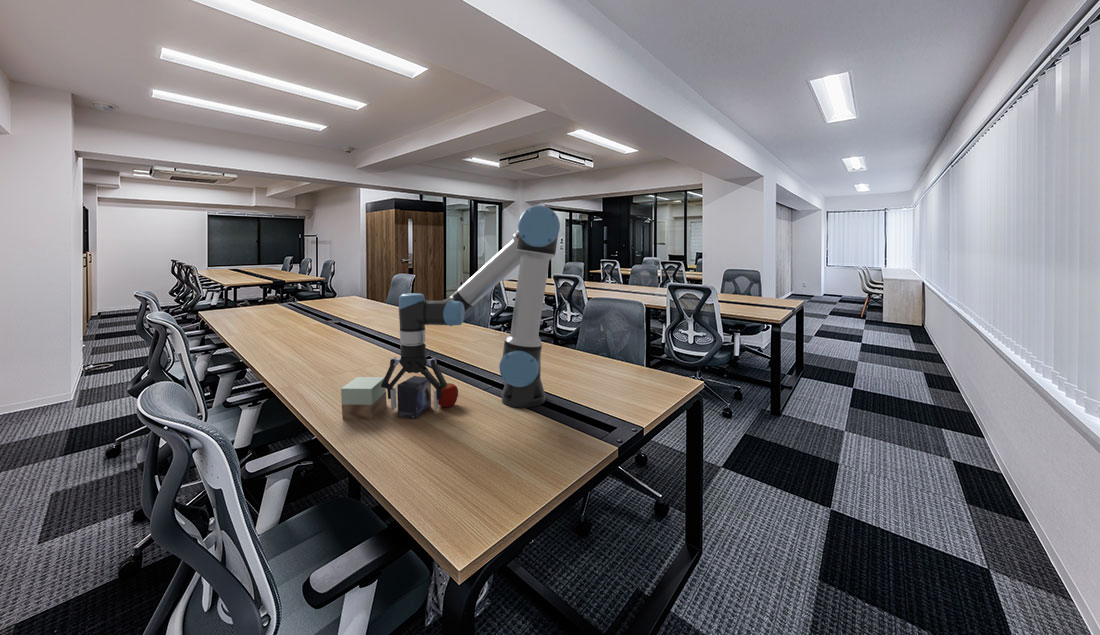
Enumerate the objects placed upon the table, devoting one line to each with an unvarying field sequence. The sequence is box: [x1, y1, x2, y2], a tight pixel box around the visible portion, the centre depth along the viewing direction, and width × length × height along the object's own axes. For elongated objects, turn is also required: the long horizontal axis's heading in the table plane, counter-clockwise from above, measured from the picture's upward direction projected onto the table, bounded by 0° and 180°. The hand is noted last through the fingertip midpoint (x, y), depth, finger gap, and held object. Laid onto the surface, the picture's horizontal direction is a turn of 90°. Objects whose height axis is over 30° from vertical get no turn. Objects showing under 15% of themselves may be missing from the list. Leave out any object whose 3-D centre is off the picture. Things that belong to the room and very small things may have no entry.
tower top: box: [340, 376, 387, 406], centre depth 134 cm, size 9×12×5 cm
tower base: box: [341, 391, 388, 421], centre depth 135 cm, size 9×12×5 cm
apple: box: [438, 382, 459, 408], centre depth 141 cm, size 8×8×8 cm
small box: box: [396, 375, 432, 420], centre depth 135 cm, size 11×6×10 cm, turn 168°
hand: (415, 408), depth 136 cm, fingers open, 13 cm apart
